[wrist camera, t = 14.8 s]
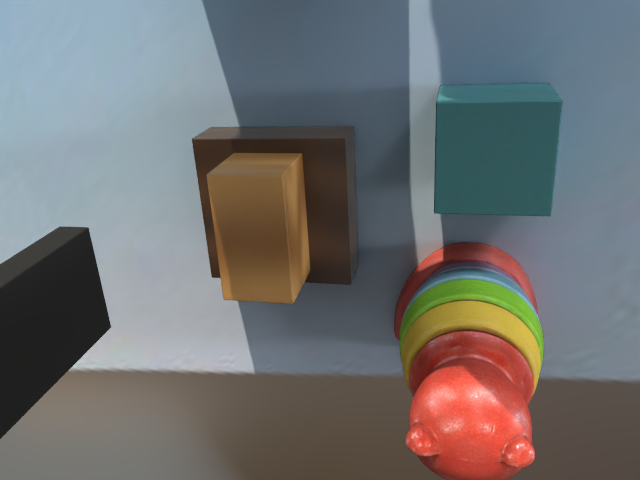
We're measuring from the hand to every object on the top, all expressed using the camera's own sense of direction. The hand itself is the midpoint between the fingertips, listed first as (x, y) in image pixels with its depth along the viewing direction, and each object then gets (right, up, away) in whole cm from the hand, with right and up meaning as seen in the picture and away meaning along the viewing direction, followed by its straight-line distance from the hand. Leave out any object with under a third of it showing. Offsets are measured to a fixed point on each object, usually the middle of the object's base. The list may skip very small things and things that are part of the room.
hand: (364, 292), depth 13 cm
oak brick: (-4, +3, +30) cm, 31 cm away
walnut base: (-4, +4, +33) cm, 34 cm away
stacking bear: (+11, -3, +34) cm, 35 cm away
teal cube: (+11, +8, +28) cm, 31 cm away
